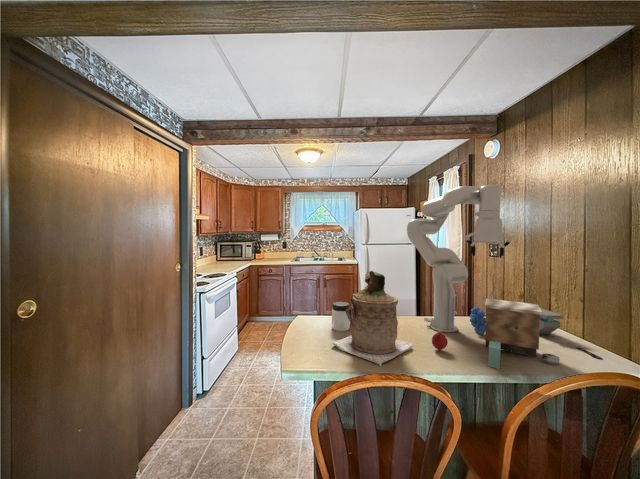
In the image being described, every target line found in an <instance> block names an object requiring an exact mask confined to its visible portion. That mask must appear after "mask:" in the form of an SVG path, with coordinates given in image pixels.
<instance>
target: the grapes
mask: <svg viewBox="0 0 640 479" xmlns="http://www.w3.org/2000/svg"><path fill="white" fill-rule="evenodd" d="M470 313H471V314H469V322H470V325H471V326H472V327H474V332H475V333H477V334H480V335H485V327H486V312H484V311H483V310H481V308H480V307H478V306H475V307H473V308H471V310H470Z"/></svg>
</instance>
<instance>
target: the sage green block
mask: <svg viewBox="0 0 640 479" xmlns="http://www.w3.org/2000/svg"><path fill="white" fill-rule="evenodd" d="M501 351H502V350H501V343H499V342H494V341H489V347H488V359H487V360H488V362H487V363H488V364H487V366H488V367H489V368H492V369H493V368H494V369H498V370H500V369H501Z"/></svg>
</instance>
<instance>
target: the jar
mask: <svg viewBox="0 0 640 479" xmlns="http://www.w3.org/2000/svg"><path fill="white" fill-rule="evenodd" d="M346 309H351V306H350V303H349V302H346V301H335V302H333V303H332V307H331V328H332V330H334V331H338V332H345V331H349V327H350V321H349V319H348V316H347V315H346Z"/></svg>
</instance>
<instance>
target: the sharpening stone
mask: <svg viewBox="0 0 640 479" xmlns="http://www.w3.org/2000/svg"><path fill="white" fill-rule="evenodd" d="M520 302H521V303H525V302H523V301H520ZM540 309H541V311H542V315H540V328H539V335H550V334H551V333H553V332H555V331H556V330H558V329H559V328H561V321H558V320H563V319H564V315H563V314H560V313H556V312H554V311H551V310H547V309H544V308H542V307H540Z"/></svg>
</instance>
